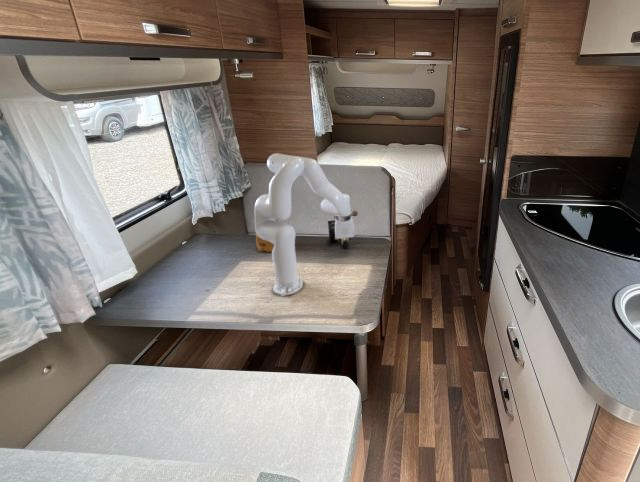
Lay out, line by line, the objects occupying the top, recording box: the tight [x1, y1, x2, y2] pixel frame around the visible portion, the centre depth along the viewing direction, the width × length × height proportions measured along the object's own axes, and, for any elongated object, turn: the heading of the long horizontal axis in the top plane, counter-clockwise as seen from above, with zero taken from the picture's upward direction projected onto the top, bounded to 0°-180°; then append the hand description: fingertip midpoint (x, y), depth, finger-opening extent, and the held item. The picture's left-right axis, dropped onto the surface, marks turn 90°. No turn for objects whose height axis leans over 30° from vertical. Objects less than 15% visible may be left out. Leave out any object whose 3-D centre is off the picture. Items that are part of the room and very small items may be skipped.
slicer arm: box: [330, 210, 359, 224], centre depth 188 cm, size 17×3×3 cm, turn 106°
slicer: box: [327, 219, 339, 245], centre depth 189 cm, size 5×6×13 cm
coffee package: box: [254, 219, 279, 253], centre depth 180 cm, size 10×12×22 cm
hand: (345, 247), depth 184 cm, fingers closed
